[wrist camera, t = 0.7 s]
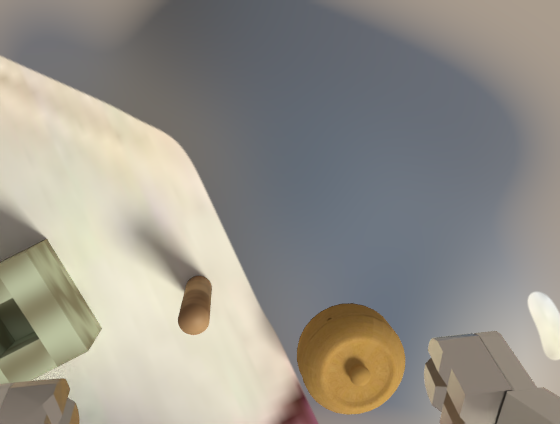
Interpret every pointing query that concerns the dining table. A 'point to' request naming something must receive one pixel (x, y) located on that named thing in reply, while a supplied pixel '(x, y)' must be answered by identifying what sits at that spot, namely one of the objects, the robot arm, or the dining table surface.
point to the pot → (350, 359)
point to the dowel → (195, 306)
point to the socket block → (40, 315)
